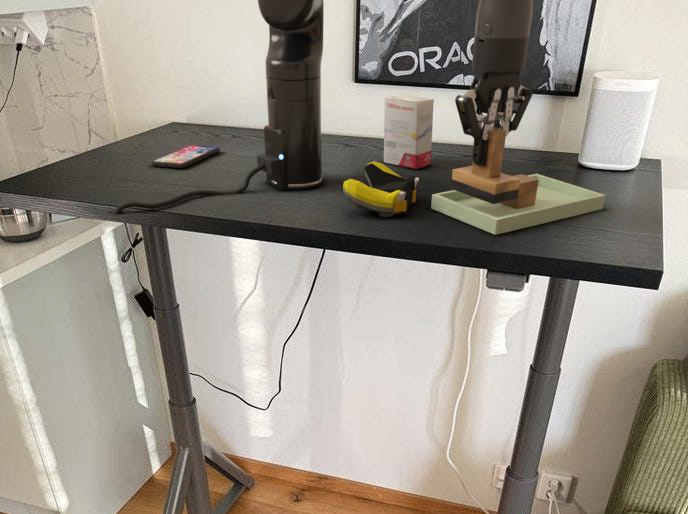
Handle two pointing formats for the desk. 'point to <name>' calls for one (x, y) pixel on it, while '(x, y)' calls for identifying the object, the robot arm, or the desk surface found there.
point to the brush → (488, 174)
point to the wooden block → (524, 192)
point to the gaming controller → (382, 191)
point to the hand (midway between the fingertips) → (486, 163)
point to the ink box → (408, 130)
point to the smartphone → (185, 156)
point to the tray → (499, 218)
